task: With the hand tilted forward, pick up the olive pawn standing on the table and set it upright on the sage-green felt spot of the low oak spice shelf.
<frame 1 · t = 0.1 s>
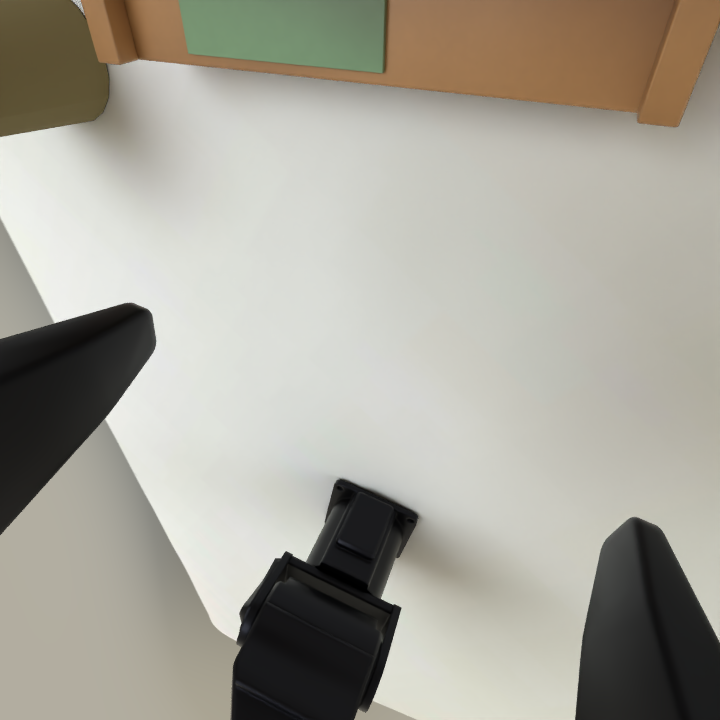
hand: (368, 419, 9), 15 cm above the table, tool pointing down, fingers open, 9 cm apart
olive pawn: (58, 54, 24), on the table
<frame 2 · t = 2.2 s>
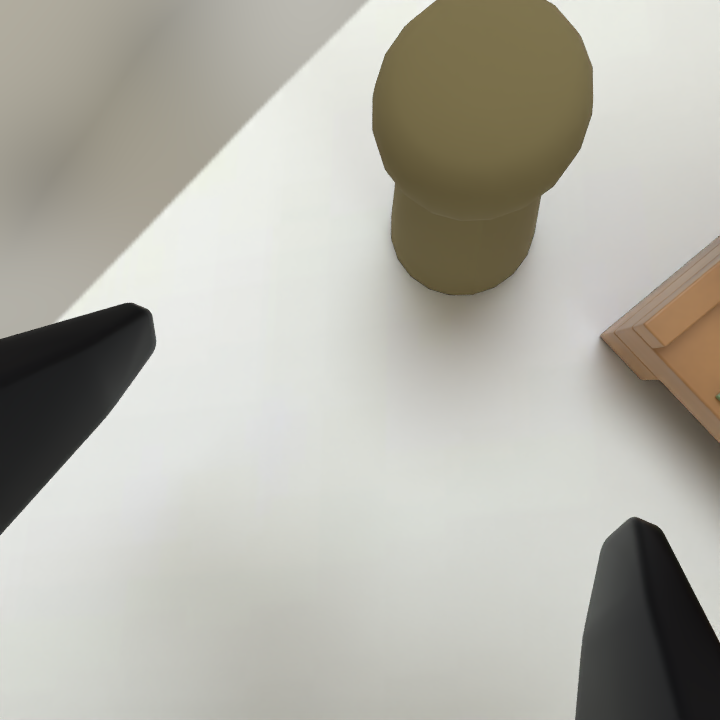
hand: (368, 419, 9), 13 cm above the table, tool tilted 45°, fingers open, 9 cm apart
olive pawn: (461, 226, 22), on the table
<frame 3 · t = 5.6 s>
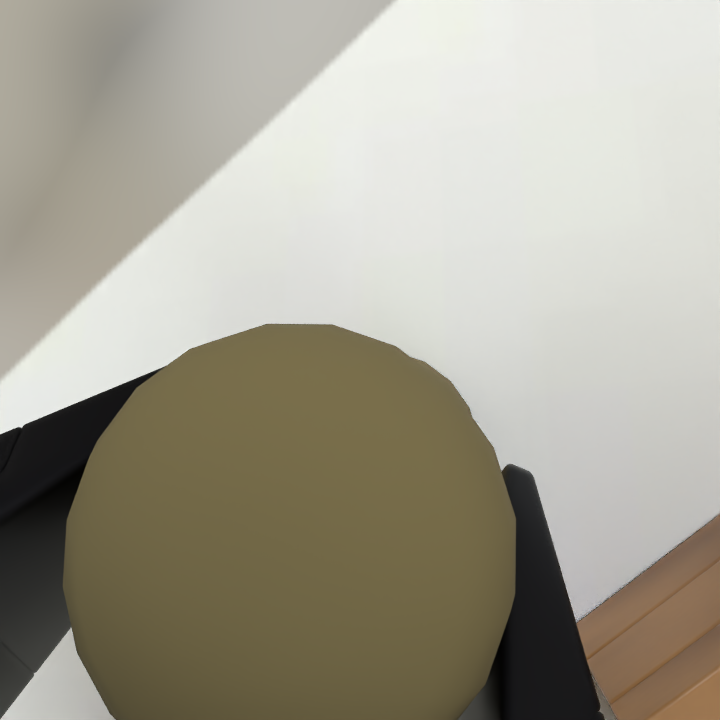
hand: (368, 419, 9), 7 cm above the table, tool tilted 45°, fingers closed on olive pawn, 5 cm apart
olive pawn: (378, 449, 16), on the table, touching gripper
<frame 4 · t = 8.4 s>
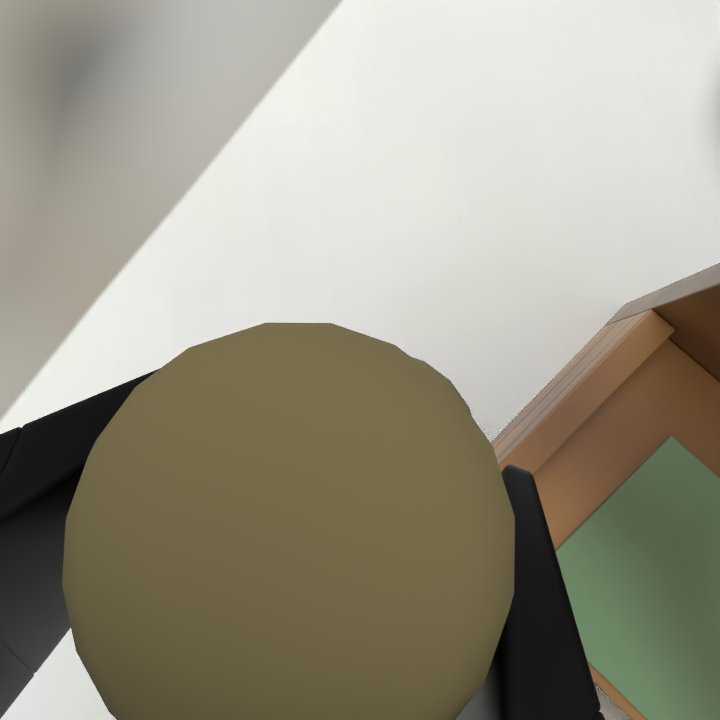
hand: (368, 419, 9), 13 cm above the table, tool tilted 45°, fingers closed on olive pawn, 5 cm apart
spice shelf: (706, 587, 19), on the table
olive pawn: (378, 448, 16), point 6 cm above the table, touching gripper
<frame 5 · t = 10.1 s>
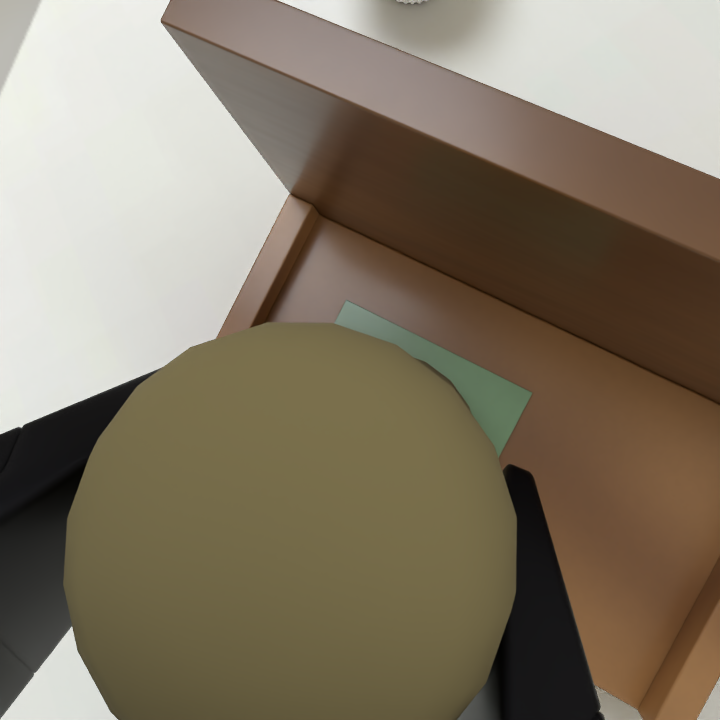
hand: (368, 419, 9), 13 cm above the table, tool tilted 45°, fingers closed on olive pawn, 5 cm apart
spice shelf: (461, 435, 21), on the table
olive pawn: (378, 448, 16), point 6 cm above the table, touching gripper
when the fingers open (10 cm above the table, at t = 11.3 s): olive pawn stays where it is, resting on spice shelf.
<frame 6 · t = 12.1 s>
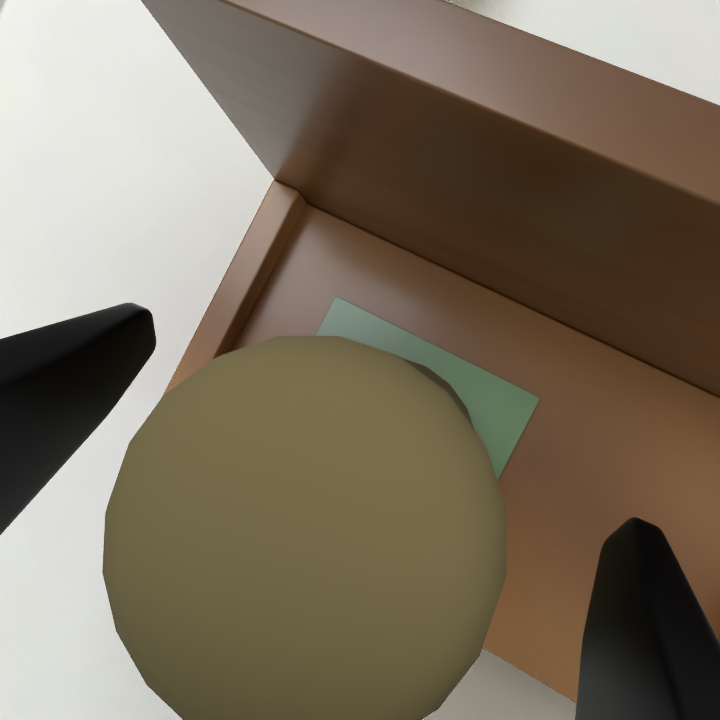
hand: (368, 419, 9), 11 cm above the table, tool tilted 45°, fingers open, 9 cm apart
spice shelf: (462, 443, 19), on the table
olive pawn: (381, 449, 16), point 4 cm above the table, touching spice shelf
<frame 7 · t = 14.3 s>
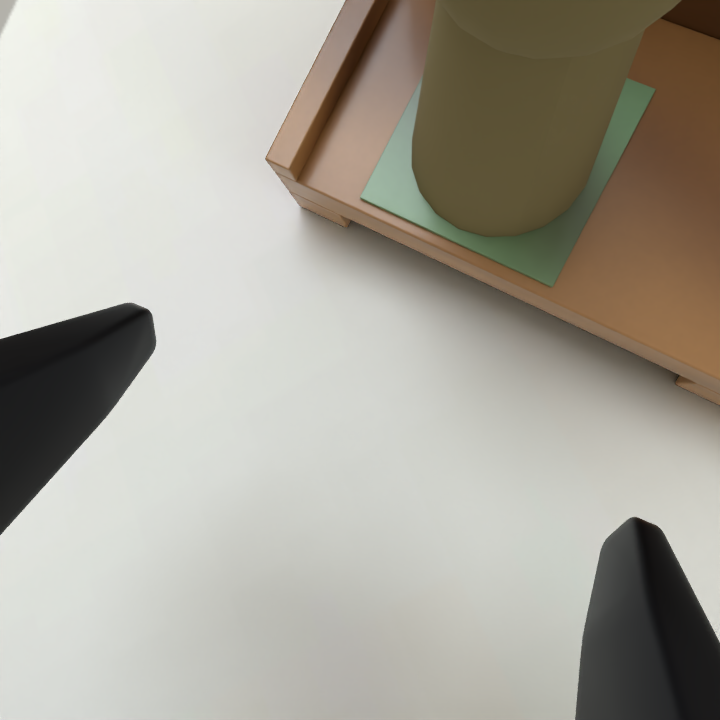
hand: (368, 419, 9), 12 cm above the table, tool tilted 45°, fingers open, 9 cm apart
spice shelf: (559, 191, 20), on the table
olive pawn: (500, 151, 17), point 4 cm above the table, touching spice shelf
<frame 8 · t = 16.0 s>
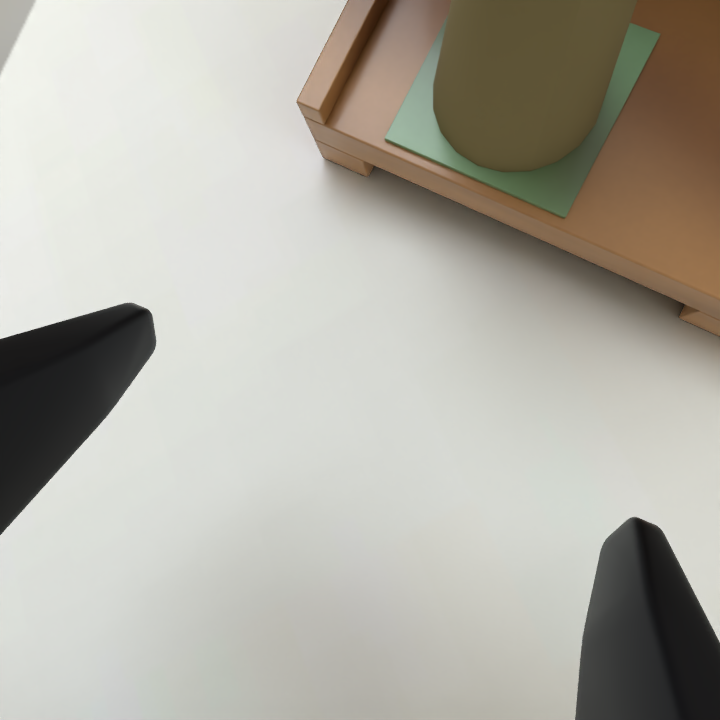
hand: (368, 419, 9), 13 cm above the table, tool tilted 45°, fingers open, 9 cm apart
spice shelf: (569, 140, 22), on the table
olive pawn: (515, 94, 18), point 4 cm above the table, touching spice shelf
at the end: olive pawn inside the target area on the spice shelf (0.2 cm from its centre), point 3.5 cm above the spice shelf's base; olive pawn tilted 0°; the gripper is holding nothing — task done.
